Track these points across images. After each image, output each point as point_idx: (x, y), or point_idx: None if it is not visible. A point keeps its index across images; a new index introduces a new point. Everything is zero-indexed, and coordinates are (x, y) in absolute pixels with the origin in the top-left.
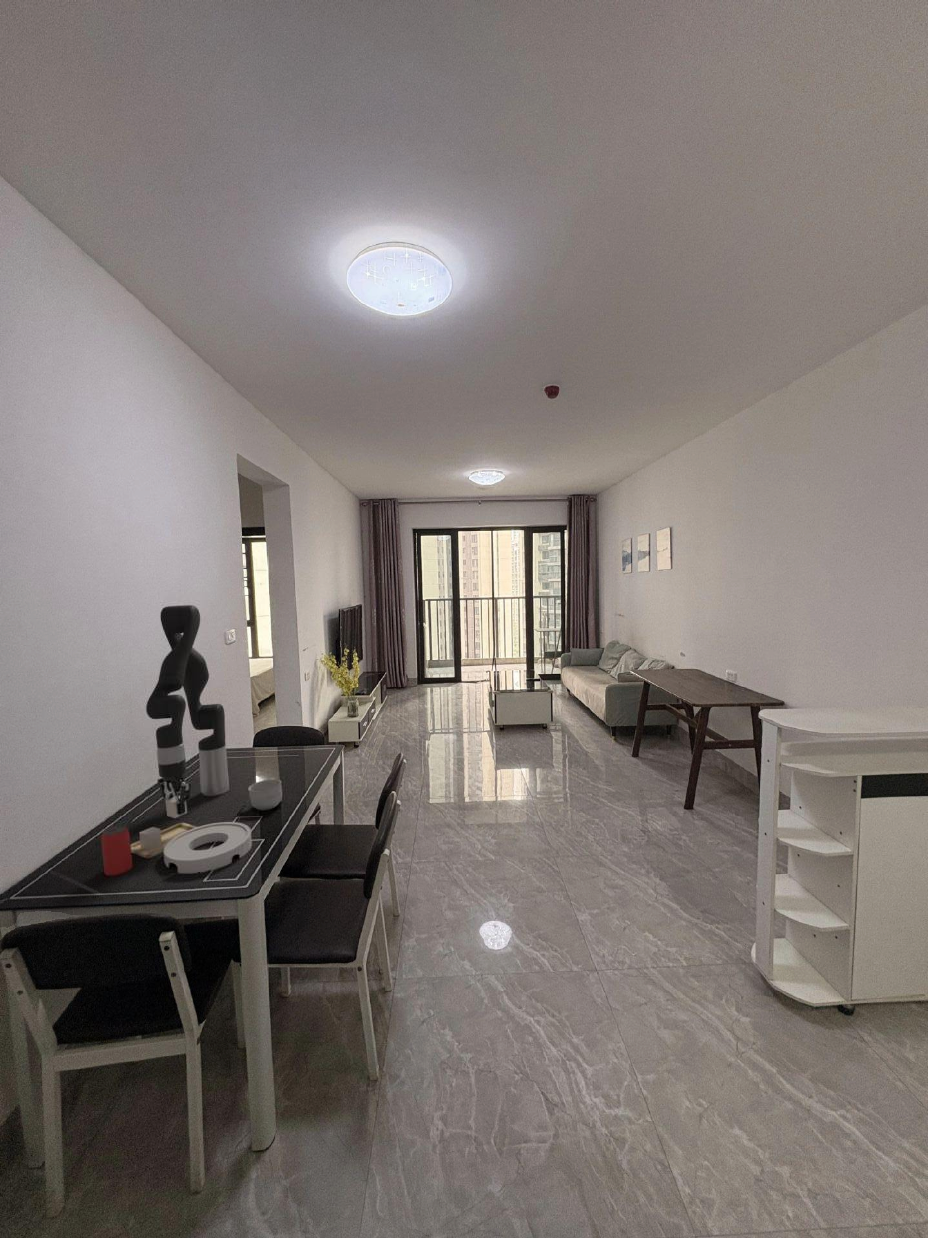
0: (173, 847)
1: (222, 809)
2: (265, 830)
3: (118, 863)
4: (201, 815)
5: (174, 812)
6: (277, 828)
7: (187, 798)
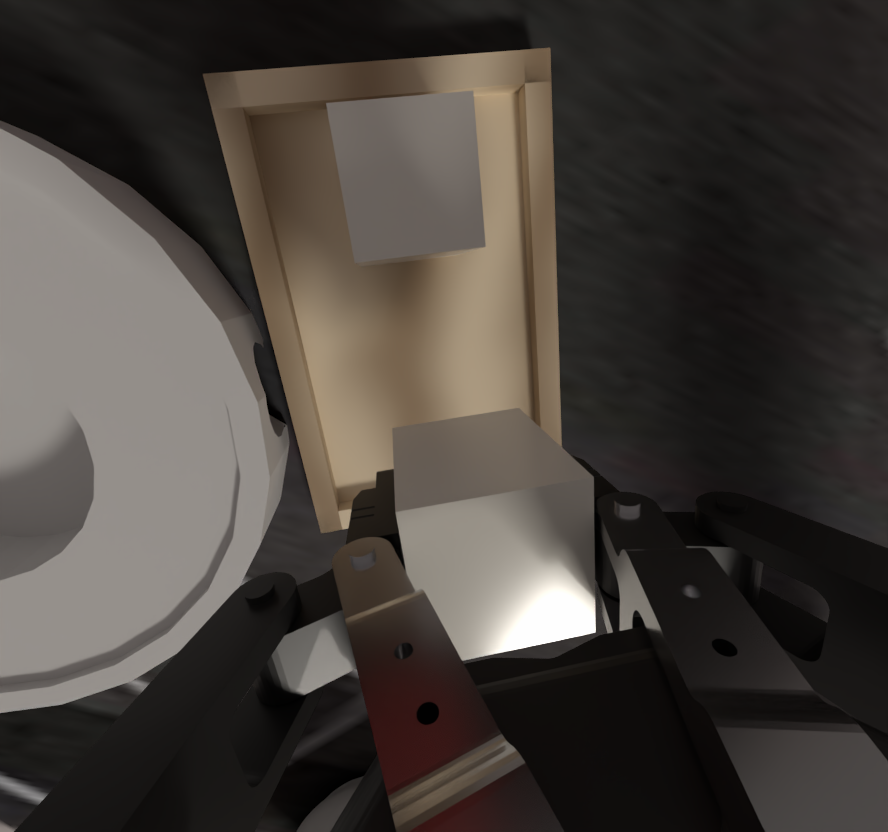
0: (20, 223)
1: None
2: (66, 724)
3: None
4: None
5: (394, 452)
6: (39, 766)
7: (256, 688)
